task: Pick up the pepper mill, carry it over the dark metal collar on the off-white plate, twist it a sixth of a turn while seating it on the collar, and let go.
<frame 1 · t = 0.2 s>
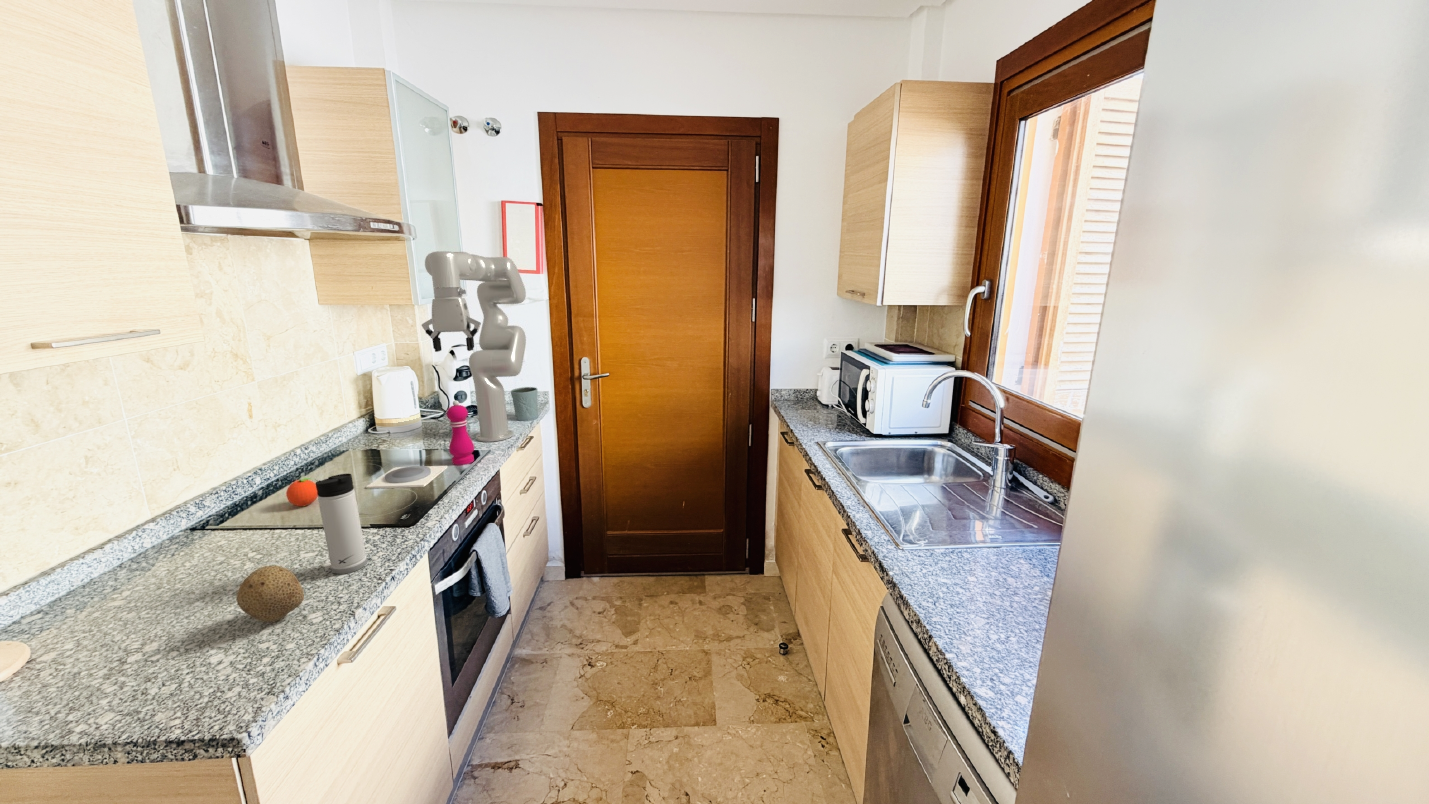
hand: (454, 350, 179), 35 cm above the worktop, tool pointing down, fingers open, 9 cm apart
drinking glass: (527, 419, 237), on the worktop
clementine: (307, 505, 155), on the worktop
travel mug: (350, 567, 121), on the worktop
natural sponge: (275, 619, 104), on the worktop
flange: (408, 477, 172), on the worktop
pepper mill: (463, 462, 185), on the worktop
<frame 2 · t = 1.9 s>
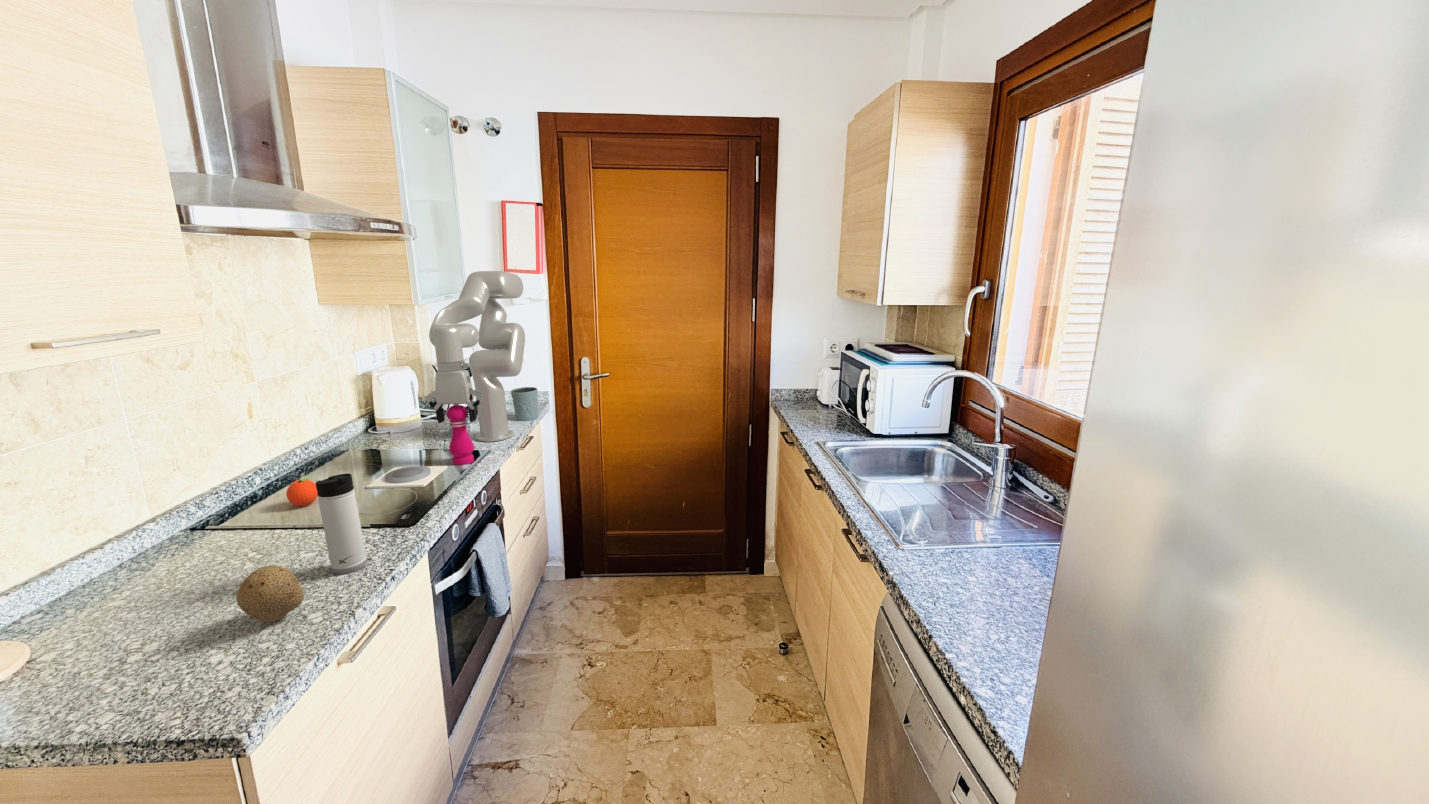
hand: (457, 421, 182), 13 cm above the worktop, tool pointing down, fingers open, 9 cm apart
nothing on the worktop moved.
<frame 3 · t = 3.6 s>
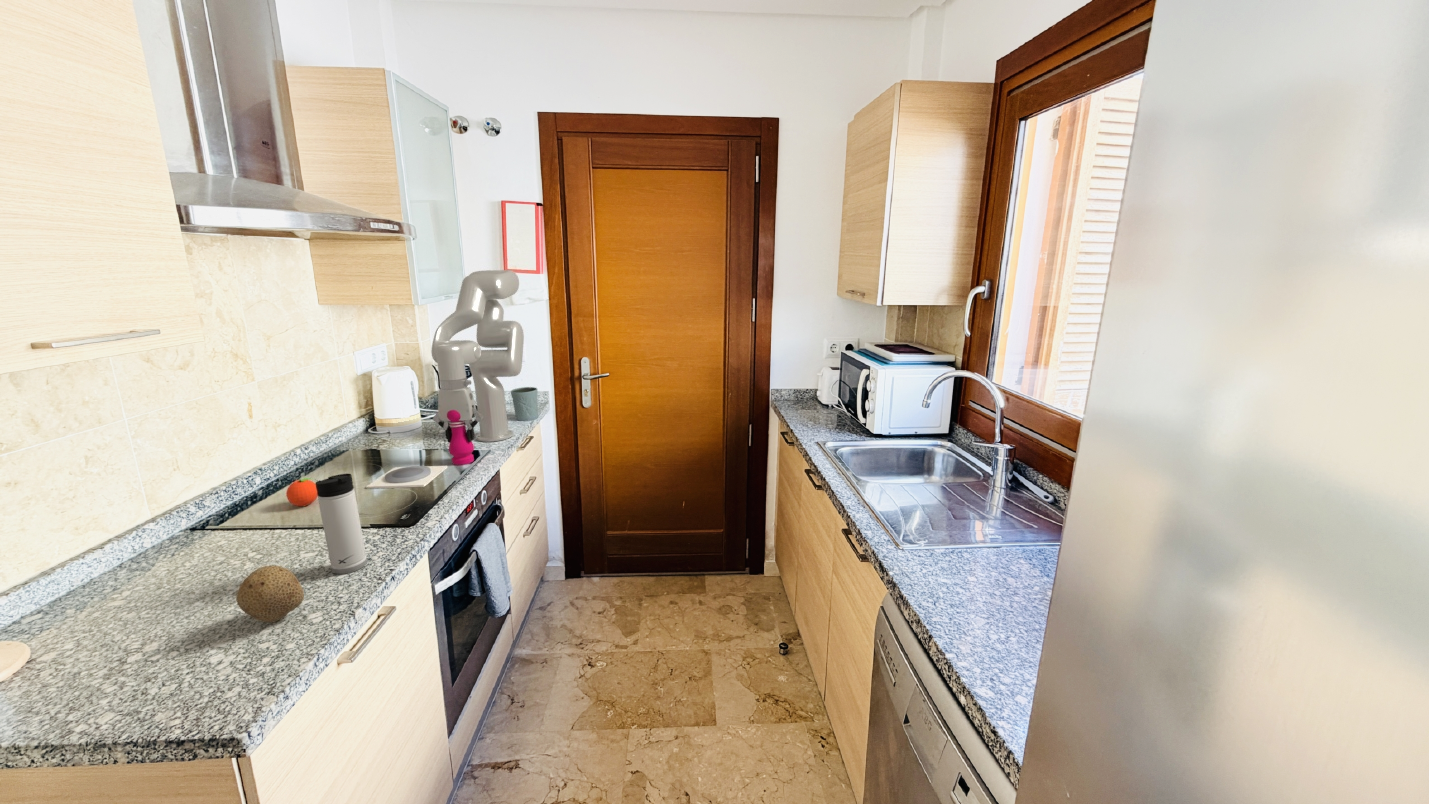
hand: (460, 440, 184), 7 cm above the worktop, tool pointing down, fingers closed on pepper mill, 5 cm apart
pepper mill: (463, 462, 185), on the worktop, touching gripper
everything else where it was.
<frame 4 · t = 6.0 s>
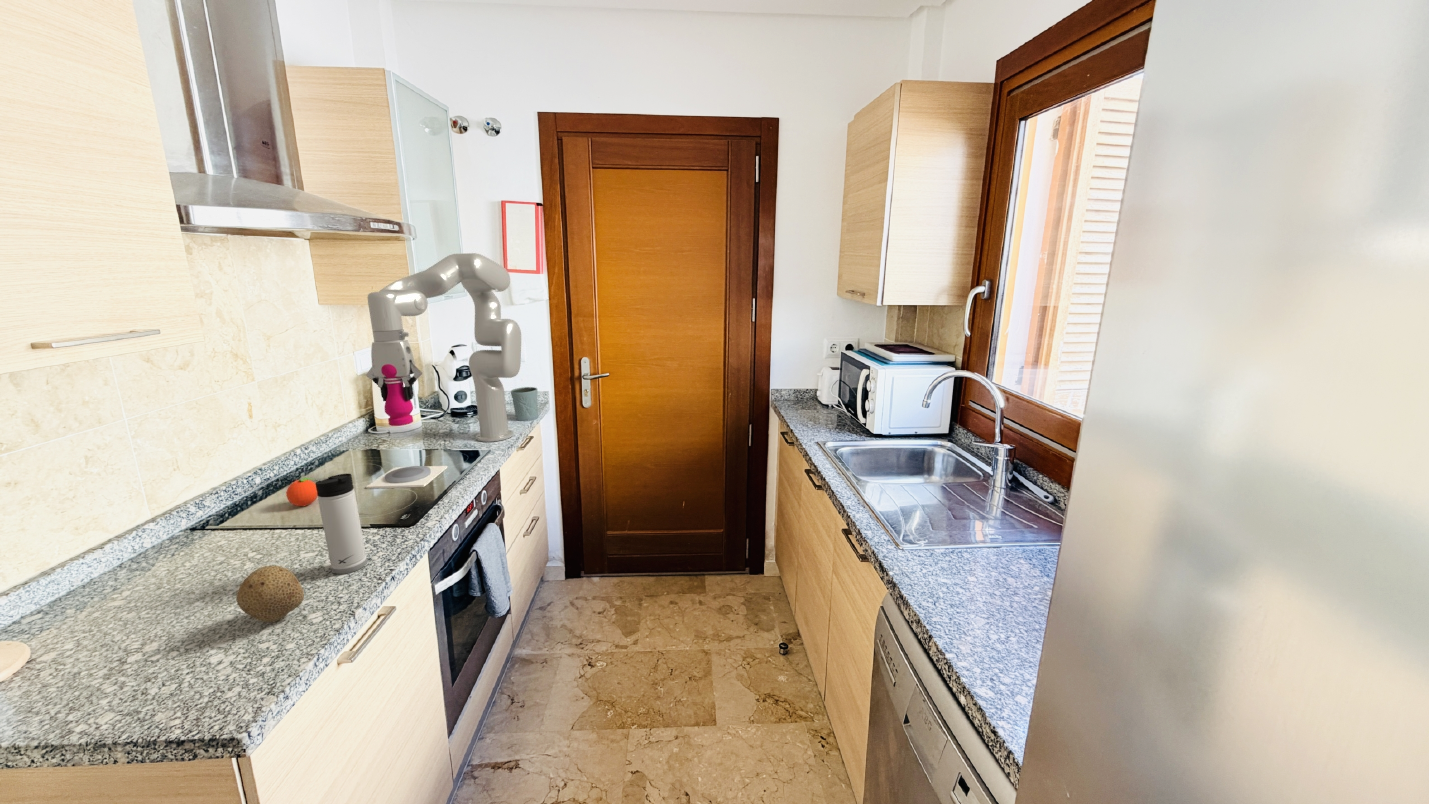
hand: (398, 399, 167), 24 cm above the worktop, tool pointing down, fingers closed on pepper mill, 5 cm apart
pepper mill: (401, 423, 169), point 16 cm above the worktop, touching gripper
everything else where it was.
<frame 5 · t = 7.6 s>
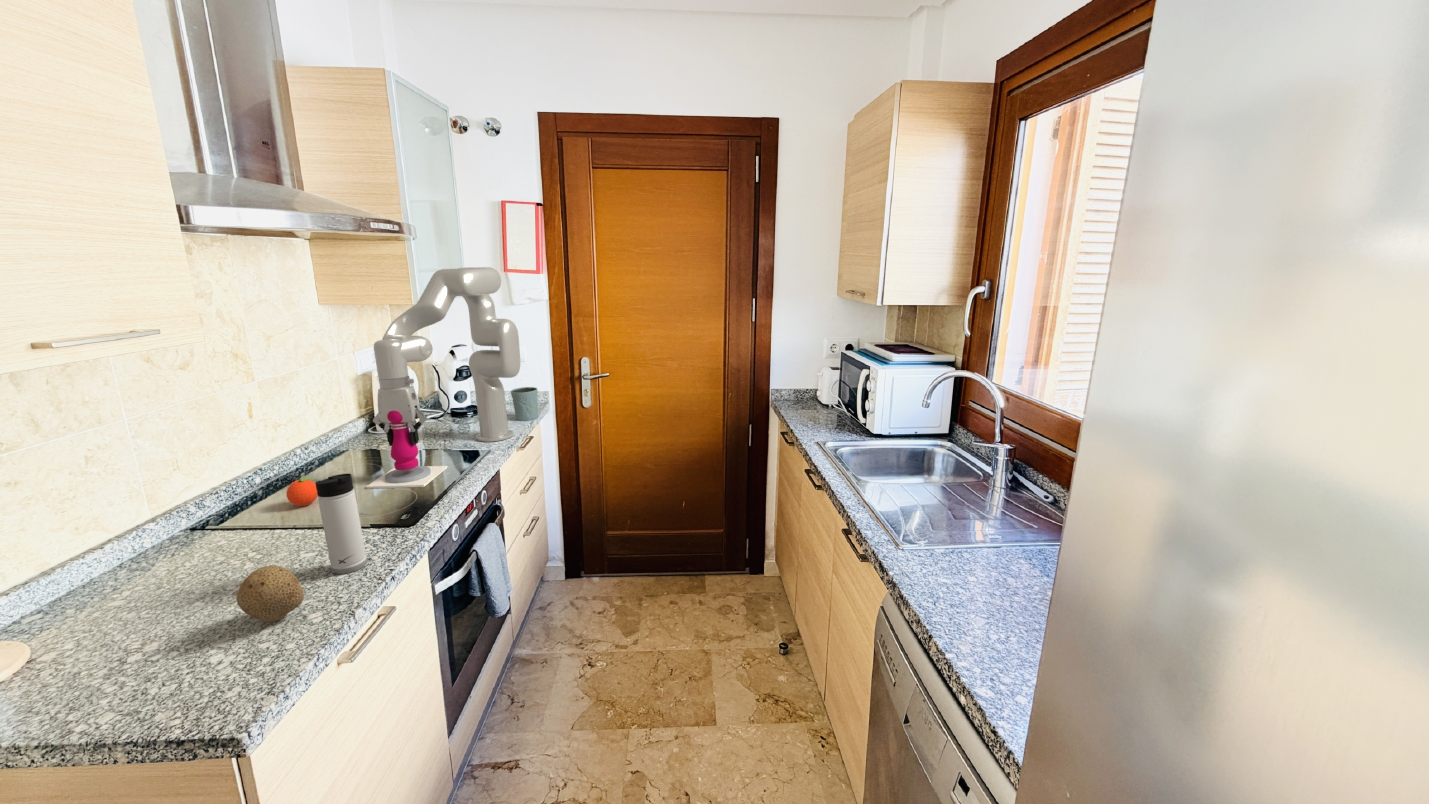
hand: (403, 443, 170), 10 cm above the worktop, tool pointing down, fingers closed on pepper mill, 5 cm apart
pepper mill: (407, 467, 172), point 3 cm above the worktop, touching gripper
everything else where it was.
when the fingers open (9 cm above the worktop, at t = 8.7 s): pepper mill stays where it is, resting on flange.
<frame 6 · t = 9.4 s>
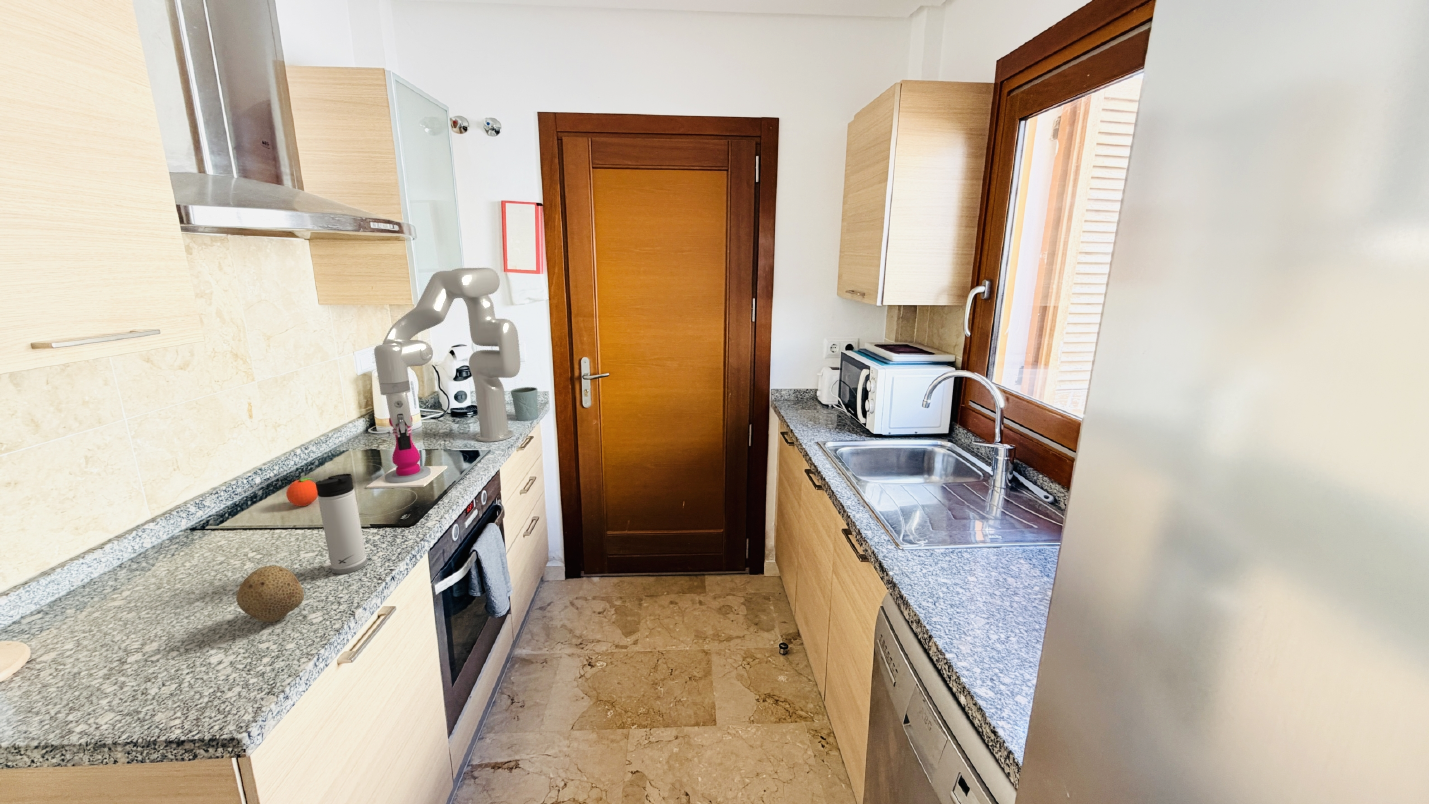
hand: (403, 445, 170), 10 cm above the worktop, tool pointing down, fingers open, 9 cm apart
pepper mill: (408, 472, 173), point 1 cm above the worktop, touching flange
everything else where it was.
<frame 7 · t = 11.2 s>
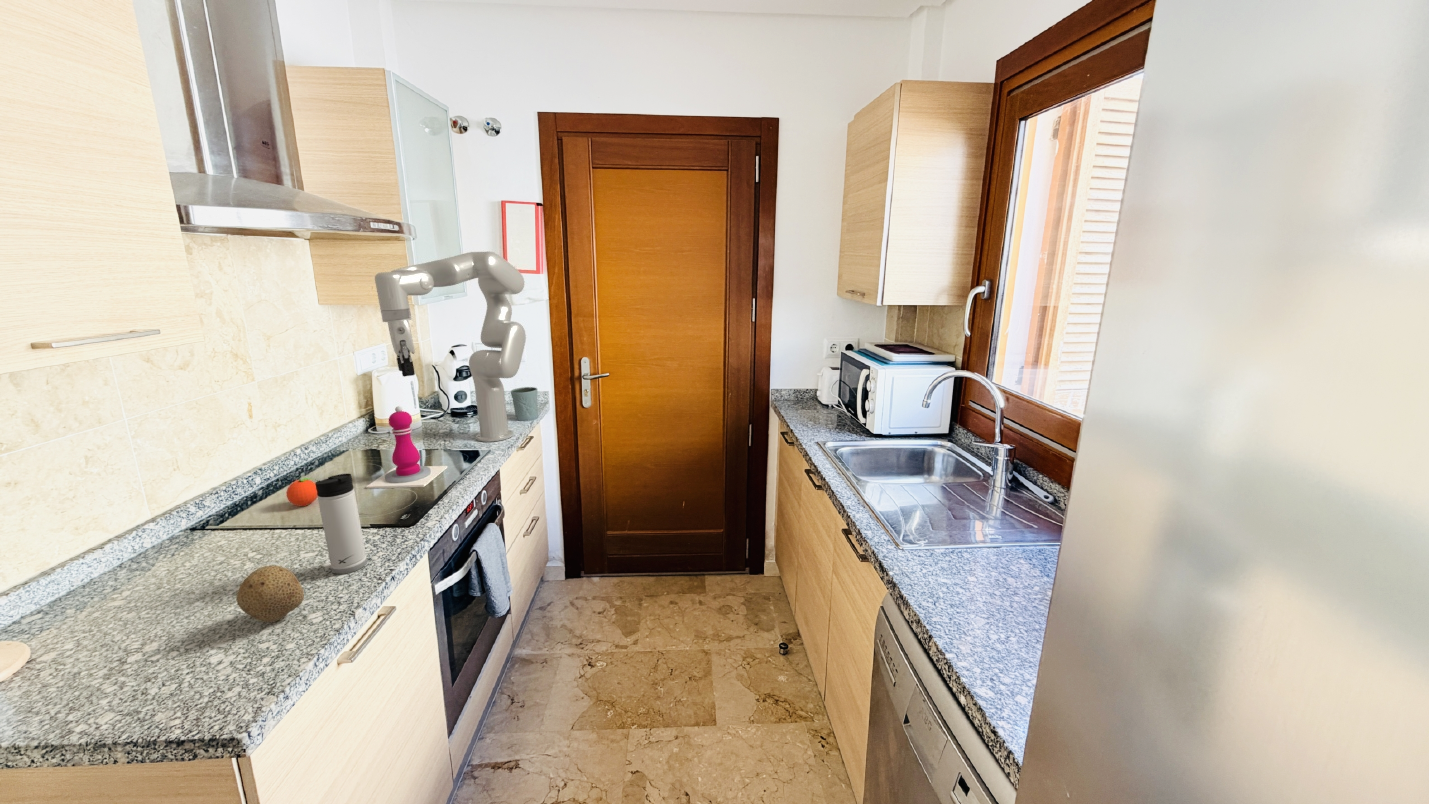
hand: (406, 372, 175), 30 cm above the worktop, tool pointing down, fingers open, 9 cm apart
nothing on the worktop moved.
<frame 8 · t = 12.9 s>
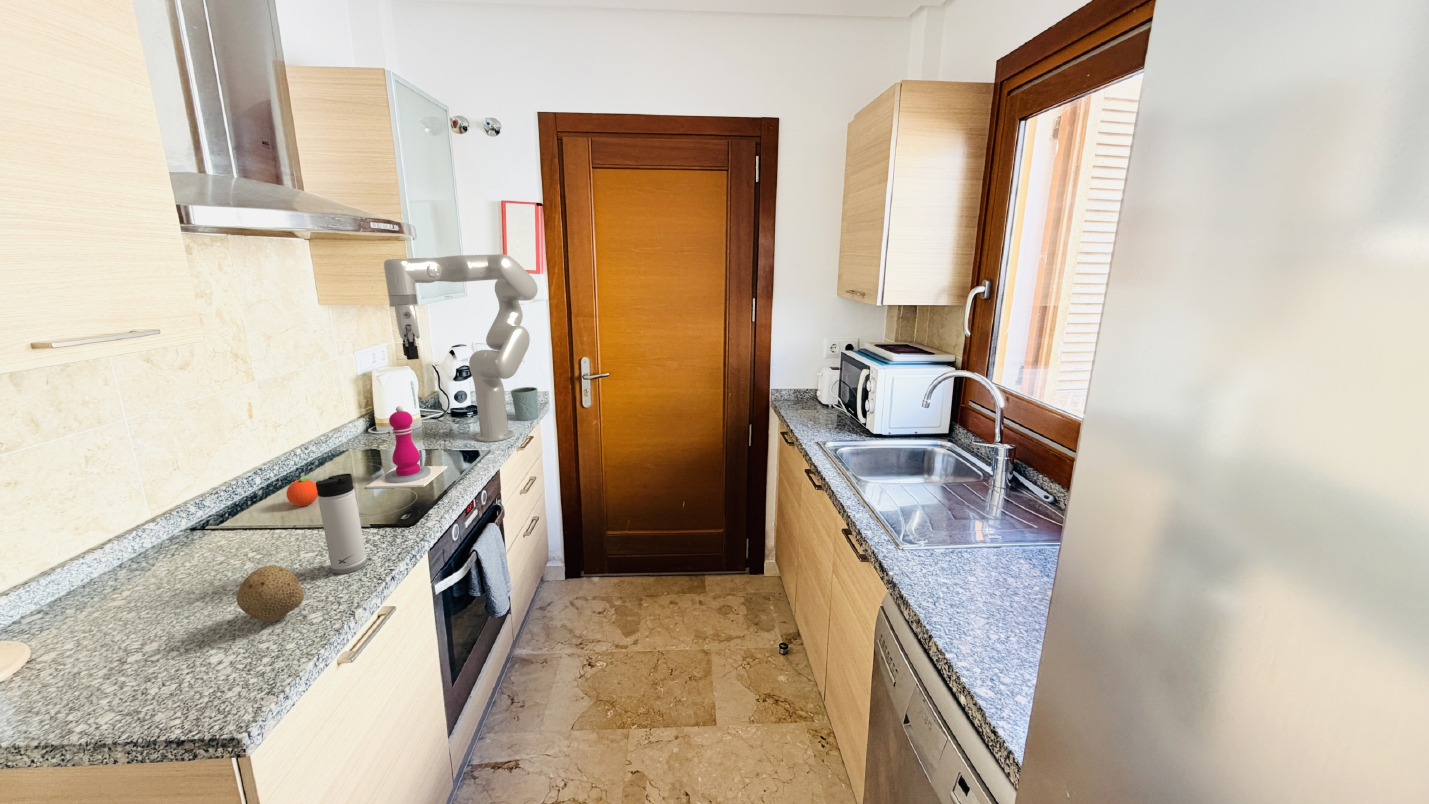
hand: (411, 357, 180), 33 cm above the worktop, tool pointing down, fingers open, 9 cm apart
nothing on the worktop moved.
at the end: pepper mill inside the target area on the flange (0.4 cm from its centre), point 1.3 cm above the flange's base; pepper mill tilted 0°; the gripper is holding nothing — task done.
